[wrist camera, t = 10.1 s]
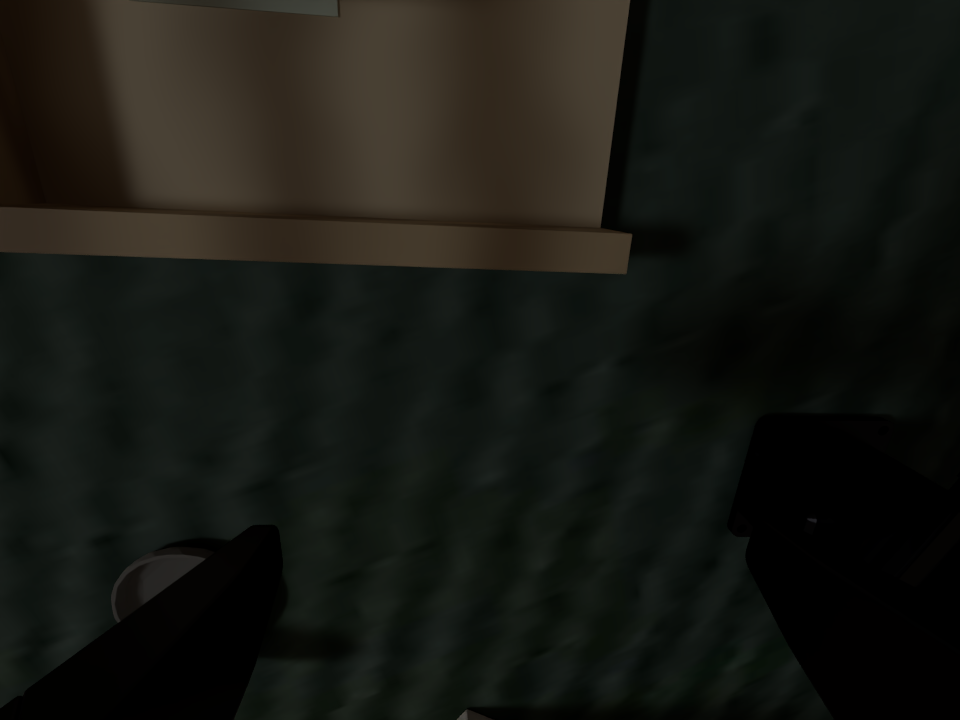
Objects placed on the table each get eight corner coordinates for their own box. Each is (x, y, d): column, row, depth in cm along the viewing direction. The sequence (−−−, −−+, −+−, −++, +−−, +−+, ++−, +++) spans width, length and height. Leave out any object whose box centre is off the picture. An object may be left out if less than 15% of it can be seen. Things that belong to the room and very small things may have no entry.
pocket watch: (239, 526, 21) (70, 795, 11) (298, 651, 24) (200, 948, 14) (66, 560, 21) (-245, 857, 11) (146, 681, 24) (-51, 998, 14)
